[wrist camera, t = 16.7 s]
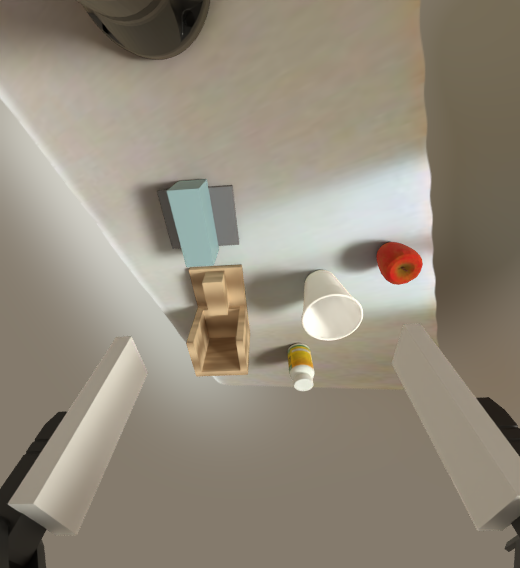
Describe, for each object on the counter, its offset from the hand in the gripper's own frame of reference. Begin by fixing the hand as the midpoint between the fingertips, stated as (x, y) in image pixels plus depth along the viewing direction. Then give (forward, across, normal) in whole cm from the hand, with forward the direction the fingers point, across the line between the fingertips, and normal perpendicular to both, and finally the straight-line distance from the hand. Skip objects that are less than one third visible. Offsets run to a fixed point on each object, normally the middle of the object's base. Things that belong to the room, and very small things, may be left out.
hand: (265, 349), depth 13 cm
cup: (+35, +10, -19) cm, 41 cm away
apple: (+35, +22, -13) cm, 43 cm away
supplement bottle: (+35, +6, -38) cm, 52 cm away
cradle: (+35, -10, -23) cm, 43 cm away
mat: (+35, -11, -4) cm, 37 cm away
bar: (+34, -11, -4) cm, 36 cm away
